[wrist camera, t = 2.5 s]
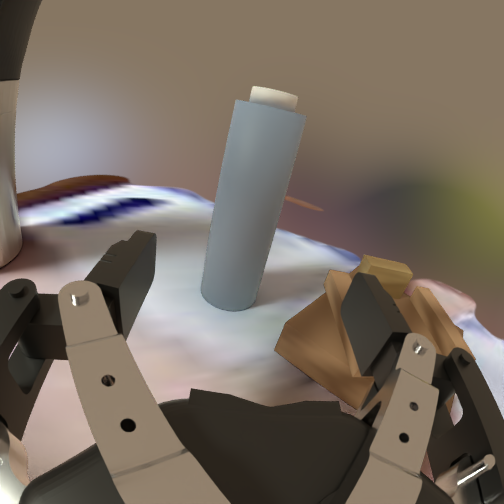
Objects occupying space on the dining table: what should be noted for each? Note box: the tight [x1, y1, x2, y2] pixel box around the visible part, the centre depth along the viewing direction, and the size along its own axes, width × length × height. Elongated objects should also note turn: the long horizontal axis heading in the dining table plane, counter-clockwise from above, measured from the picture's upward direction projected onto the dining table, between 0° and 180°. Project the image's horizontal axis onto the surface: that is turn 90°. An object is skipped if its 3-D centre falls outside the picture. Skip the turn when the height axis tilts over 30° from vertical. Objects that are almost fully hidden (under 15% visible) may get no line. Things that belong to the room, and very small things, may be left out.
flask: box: [201, 86, 306, 311], centre depth 21 cm, size 5×5×17 cm
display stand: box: [274, 255, 476, 414], centre depth 21 cm, size 15×15×6 cm
